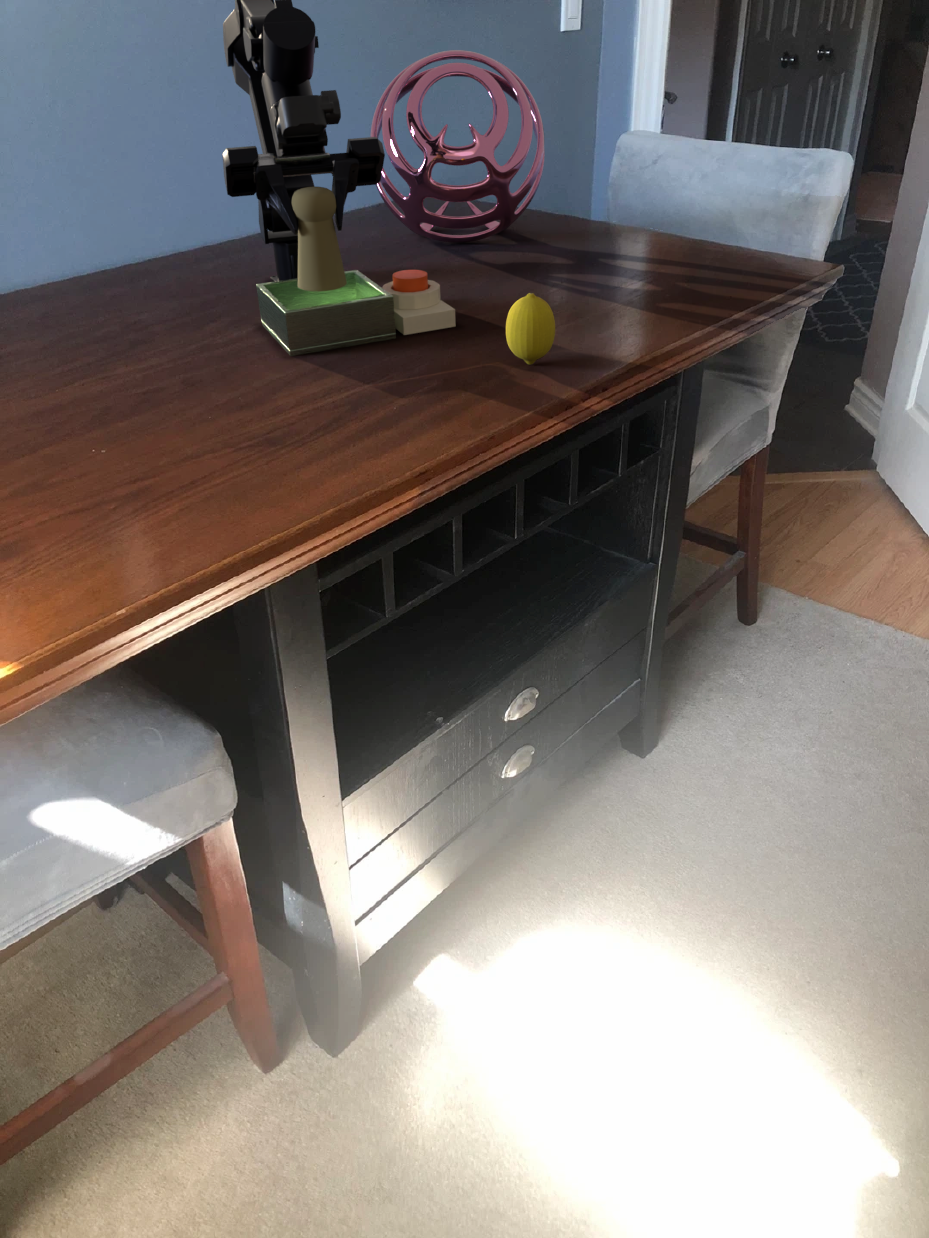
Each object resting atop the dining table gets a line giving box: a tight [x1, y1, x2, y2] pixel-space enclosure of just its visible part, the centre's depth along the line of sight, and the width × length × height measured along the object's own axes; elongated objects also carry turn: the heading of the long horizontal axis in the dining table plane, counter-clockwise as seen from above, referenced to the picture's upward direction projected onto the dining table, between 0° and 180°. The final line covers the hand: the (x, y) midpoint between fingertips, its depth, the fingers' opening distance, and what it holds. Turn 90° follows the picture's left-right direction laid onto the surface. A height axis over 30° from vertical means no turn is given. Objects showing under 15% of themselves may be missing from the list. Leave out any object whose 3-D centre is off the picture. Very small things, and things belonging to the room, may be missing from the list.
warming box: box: [255, 269, 397, 357], centre depth 123 cm, size 13×13×5 cm
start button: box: [392, 269, 429, 292], centre depth 125 cm, size 4×4×2 cm
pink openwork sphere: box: [369, 49, 546, 244], centre depth 157 cm, size 28×28×27 cm
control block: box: [381, 279, 456, 336], centre depth 127 cm, size 12×7×4 cm, turn 24°
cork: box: [292, 186, 347, 291], centre depth 118 cm, size 6×6×11 cm
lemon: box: [505, 292, 556, 365], centre depth 110 cm, size 6×6×8 cm
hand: (318, 230), depth 116 cm, fingers closed on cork, 5 cm apart
